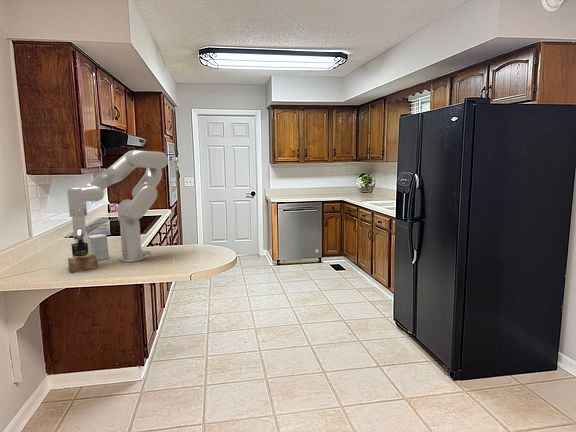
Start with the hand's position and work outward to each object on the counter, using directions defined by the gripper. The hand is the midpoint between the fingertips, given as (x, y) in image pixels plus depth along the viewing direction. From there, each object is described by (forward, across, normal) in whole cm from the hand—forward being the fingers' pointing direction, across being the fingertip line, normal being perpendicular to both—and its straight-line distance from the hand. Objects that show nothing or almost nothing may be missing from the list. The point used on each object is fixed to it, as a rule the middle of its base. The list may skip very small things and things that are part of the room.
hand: (81, 248), depth 196 cm
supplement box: (+10, -17, +7) cm, 21 cm away
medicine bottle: (+4, 0, 0) cm, 4 cm away
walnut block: (+10, 0, 0) cm, 10 cm away
